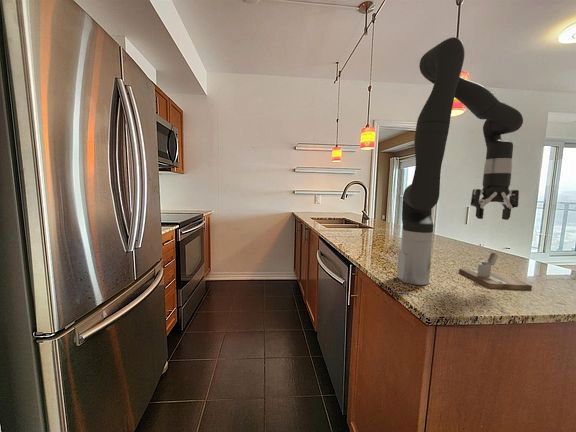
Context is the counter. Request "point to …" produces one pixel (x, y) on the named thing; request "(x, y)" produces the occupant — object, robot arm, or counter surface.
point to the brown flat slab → (496, 280)
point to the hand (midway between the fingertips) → (492, 219)
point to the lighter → (487, 266)
